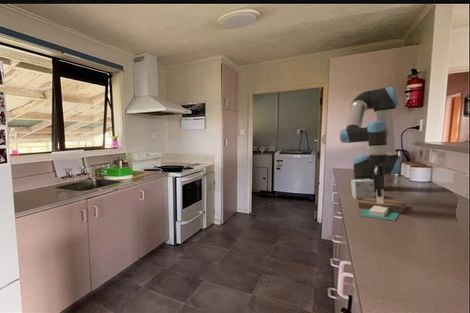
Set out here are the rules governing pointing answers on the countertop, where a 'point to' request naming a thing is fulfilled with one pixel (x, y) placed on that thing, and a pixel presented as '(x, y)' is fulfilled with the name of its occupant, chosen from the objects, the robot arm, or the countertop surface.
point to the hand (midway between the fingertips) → (380, 202)
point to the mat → (389, 216)
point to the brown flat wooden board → (383, 204)
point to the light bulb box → (362, 188)
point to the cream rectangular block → (378, 211)
